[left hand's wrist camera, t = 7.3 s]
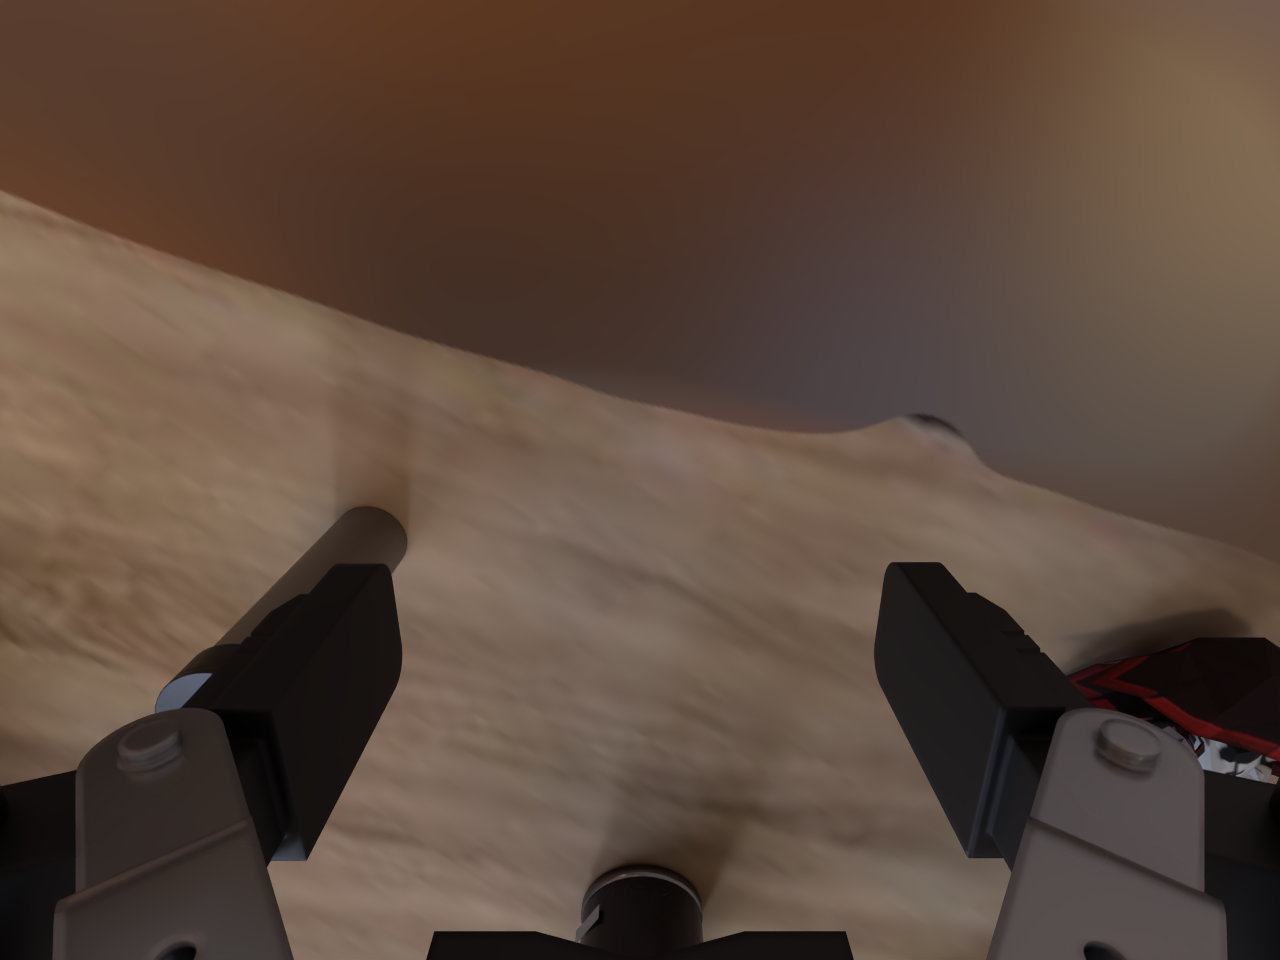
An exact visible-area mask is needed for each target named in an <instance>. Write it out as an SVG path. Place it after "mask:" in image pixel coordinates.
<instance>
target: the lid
mask: <svg viewBox="0 0 1280 960" xmlns="http://www.w3.org/2000/svg"><path fill="white" fill-rule="evenodd" d="M239 645H240V644H222V645H217V646H214V647H211V648H208V649H206V650H204V651H202V652H201V653H199V654H198V655H197V656H196V657H195V658H193V659H192V660H191V661H190V662H189V663H188V664H187V665H186V666H185V667H184V668H183V669H182V670H181V671H180V672H179V673H178V674H177V675H176V676H175V677H174V678H173V679H172V680H171V681H170V682H169V683H168V684H167V685H166V686H165V687H164V689H163V690H162V691H161V693H160V695H159V697H158V699H157V702H156V706H155V713H159V712H163V711H167V710H172V709H180V708H181V707H182V706H183V705H184V704H185V703H186V702H187V701H188V700H189V698H190V697H191V696H192V695H193V694H194V693H195V692H196V691H197V690H198V689H199V688H200V687H201V686H202V684H203V683H204V682H205V681H206V680H207V679H208V678H209V677H210V676H211V675H212V674H213V673H214V672H215V671H216V669H217V668H218V667H219V666H220V665H221V664H222V663H223V662H224V661H225V660H226V659H227V658H228V657H229V655H230V654H234V653H235V649H236V648H237V647H238V646H239Z"/></svg>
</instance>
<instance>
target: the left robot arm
mask: <svg viewBox="0 0 1280 960" xmlns="http://www.w3.org/2000/svg"><path fill="white" fill-rule="evenodd" d="M874 661H875V669H876V674H877V678H878V681H879V684H880V686H881V688H882V690H883V692H884V694H885V696H886V698H887V700H888V702H889V704H890V706H891V708H892V710H893V712H894V714H895V716H896V718H897V720H898V722H899V723H900V725H901V727H902V729H903V731H904V733H905V735H906V737H907V739H908V741H909V743H910V745H911V747H912V749H913V751H914V753H915V755H916V757H917V759H918V761H919V763H920V765H921V767H922V769H923V771H924V773H925V775H926V776H927V778H928V780H929V782H930V784H931V786H932V788H933V790H934V792H935V794H936V796H937V798H938V800H939V802H940V804H941V806H942V808H943V810H944V812H945V814H946V816H947V818H948V820H949V822H950V824H951V826H952V828H953V829H954V831H955V833H956V835H957V837H958V839H959V841H960V843H961V845H962V847H963V849H964V851H965V853H966V855H967V857H968V858H1004V860H1005V862H1006V863H1007V865H1008V867H1009V869H1010V870H1011V872H1012V873H1011V877H1010V880H1009V884H1008V887H1007V891H1006V894H1005V897H1004V901H1003V904H1002V908H1001V911H1000V914H999V918H998V921H997V925H996V928H995V931H994V935H993V938H992V942H991V945H990V948H989V952H988V955H987V959H986V960H1280V776H1279V779H1278V781H1277V783H1276V784H1271V783H1266V782H1261V781H1257V780H1252V779H1247V778H1243V777H1238V776H1233V775H1229V774H1224V773H1219V772H1215V771H1210V770H1205V769H1203V768H1202V766H1201V764H1200V762H1199V761H1198V759H1197V758H1196V757H1195V755H1194V754H1193V753H1192V752H1191V751H1190V750H1189V749H1188V748H1187V747H1186V746H1185V745H1184V744H1182V743H1181V742H1180V741H1179V740H1178V739H1176V738H1175V737H1173V736H1172V735H1170V734H1169V733H1167V732H1166V731H1164V730H1162V729H1160V728H1159V727H1157V726H1155V725H1153V724H1151V723H1149V722H1146V721H1144V720H1142V719H1139V718H1137V717H1134V716H1131V715H1128V714H1125V713H1121V712H1117V711H1113V710H1108V709H1100V708H1095V707H1094V706H1093V705H1092V704H1091V703H1090V702H1089V701H1088V700H1087V699H1086V697H1085V696H1084V695H1083V694H1082V693H1081V692H1080V691H1079V690H1078V689H1077V688H1076V687H1075V685H1074V684H1073V683H1072V682H1071V681H1070V680H1069V679H1068V678H1067V677H1066V676H1065V675H1064V674H1063V672H1062V671H1061V670H1060V669H1059V668H1058V667H1057V666H1056V665H1055V664H1054V663H1053V662H1052V661H1051V659H1050V658H1049V657H1048V656H1047V655H1046V654H1045V653H1041V652H1040V648H1039V646H1038V645H1037V644H1036V643H1035V642H1034V641H1033V640H1032V639H1031V638H1030V637H1029V636H1028V635H1024V630H1023V629H1022V628H1021V627H1020V626H1019V625H1018V624H1017V623H1016V621H1015V620H1014V619H1013V618H1012V617H1011V616H1010V615H1009V614H1008V613H1007V612H1006V611H1005V610H1004V609H1002V608H1000V607H999V606H997V605H995V604H994V603H992V602H990V601H989V600H987V599H985V598H984V597H982V596H980V595H979V594H977V593H967V592H966V591H965V590H964V588H963V587H962V586H961V585H960V584H959V583H958V582H957V580H956V579H955V578H954V577H953V576H952V575H951V573H950V572H949V571H948V570H947V569H946V568H945V566H944V565H942V564H941V563H939V562H892V563H890V564H889V565H888V567H887V569H886V572H885V576H884V582H883V589H882V596H881V603H880V610H879V617H878V624H877V631H876V638H875V646H874ZM401 666H402V644H401V637H400V630H399V623H398V616H397V609H396V602H395V595H394V588H393V581H392V576H391V572H390V570H389V568H388V566H387V565H386V564H384V563H338V564H335V565H334V566H332V567H331V569H330V570H329V571H328V572H327V573H326V574H325V575H324V577H323V578H322V579H321V580H320V581H319V582H318V583H317V585H316V586H315V587H314V588H313V589H312V590H311V591H310V593H309V594H299V595H297V596H296V597H294V598H292V599H291V600H289V601H287V602H286V603H284V604H282V605H281V606H279V607H277V608H276V609H274V610H272V611H270V612H269V614H268V615H267V616H266V617H265V618H264V619H263V620H262V621H261V622H260V623H259V624H258V625H257V626H256V627H255V629H254V630H253V631H252V632H251V636H250V637H246V638H245V639H244V640H243V641H242V643H241V644H240V645H239V646H238V647H237V648H236V649H235V653H234V654H230V655H229V657H228V658H227V659H226V660H225V661H224V662H223V663H222V664H221V665H220V666H219V667H218V668H217V669H216V671H215V672H214V673H213V674H212V675H211V676H210V677H209V678H208V679H207V680H206V681H205V682H204V683H203V684H202V686H201V687H200V688H199V689H198V690H197V691H196V692H195V693H194V694H193V695H192V696H191V697H190V698H189V700H188V701H187V702H186V703H185V704H184V705H183V706H182V707H181V708H180V709H172V710H167V711H163V712H159V713H155V714H152V715H149V716H146V717H143V718H141V719H138V720H136V721H134V722H131V723H129V724H127V725H125V726H123V727H121V728H120V729H118V730H116V731H114V732H113V733H111V734H110V735H108V736H107V737H105V738H104V739H102V740H101V741H100V742H99V743H98V744H96V745H95V746H94V747H93V748H92V749H91V750H90V751H89V752H88V753H87V754H86V755H85V757H84V758H83V759H82V761H81V762H80V764H79V766H78V768H77V770H74V771H70V772H66V773H61V774H56V775H52V776H47V777H42V778H38V779H33V780H28V781H24V782H19V783H14V784H10V785H5V786H0V960H294V959H293V955H292V952H291V948H290V945H289V942H288V938H287V935H286V931H285V928H284V925H283V921H282V918H281V914H280V911H279V908H278V904H277V901H276V897H275V894H274V891H273V887H272V884H271V880H270V877H269V873H268V870H267V866H268V865H269V863H270V861H307V859H308V857H309V855H310V853H311V851H312V849H313V847H314V845H315V843H316V841H317V839H318V838H319V836H320V834H321V832H322V830H323V828H324V826H325V824H326V822H327V820H328V818H329V816H330V814H331V812H332V810H333V808H334V806H335V805H336V803H337V801H338V799H339V797H340V795H341V793H342V791H343V789H344V787H345V785H346V783H347V781H348V779H349V777H350V775H351V774H352V772H353V770H354V768H355V766H356V764H357V762H358V760H359V758H360V756H361V754H362V752H363V750H364V748H365V746H366V744H367V743H368V741H369V739H370V737H371V735H372V733H373V731H374V729H375V727H376V725H377V723H378V721H379V719H380V717H381V715H382V713H383V711H384V710H385V708H386V706H387V704H388V702H389V700H390V698H391V696H392V694H393V692H394V690H395V688H396V686H397V683H398V681H399V677H400V672H401ZM581 923H582V925H581V926H580V927H579V928H578V929H577V931H576V940H575V942H573V941H569V940H566V939H562V938H558V937H555V936H551V935H547V934H543V933H540V932H536V931H434V935H433V938H432V942H431V945H430V949H429V952H428V955H427V959H426V960H854V959H853V955H852V952H851V949H850V945H849V942H848V938H847V935H846V931H744V932H740V933H737V934H733V935H729V936H725V937H722V938H718V939H714V940H711V941H707V942H703V933H702V906H701V901H700V897H699V895H698V893H697V891H696V890H695V888H694V887H693V886H692V885H691V884H690V883H689V882H688V881H687V880H686V879H684V878H683V877H681V876H680V875H678V874H676V873H674V872H671V871H669V870H666V869H662V868H658V867H651V866H632V867H626V868H621V869H618V870H615V871H612V872H610V873H608V874H606V875H604V876H602V877H601V878H599V879H598V880H597V881H596V882H594V883H593V884H592V885H591V887H590V888H589V889H588V891H587V892H586V894H585V896H584V899H583V903H582V912H581ZM580 939H581V940H580ZM579 940H580V943H577V942H578V941H579Z"/></svg>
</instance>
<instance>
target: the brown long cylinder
mask: <svg viewBox="0 0 1280 960" xmlns="http://www.w3.org/2000/svg"><path fill="white" fill-rule="evenodd" d="M406 548H407V539H406V535H405V532H404V530H403V528H402V526H401V525H400V523H399V522H398V521H397V520H396V519H395V518H394V517H393V516H391V515H390V514H389V513H387V512H385V511H383V510H380V509H377V508H372V507H359V508H355V509H352V510H350V511H348V512H346V513H345V514H344V515H343V516H342V517H341V518H340V519H339V520H338V521H337V522H336V523H335V524H334V525H333V526H332V527H331V528H330V529H329V530H328V531H327V532H326V533H325V534H324V535H323V536H322V537H321V538H320V539H319V540H318V541H317V542H316V543H315V544H314V545H313V546H312V547H311V548H310V549H309V550H308V551H307V552H306V553H305V554H304V555H303V556H302V557H301V558H300V559H299V560H298V561H297V562H296V563H295V564H294V565H293V566H292V567H291V568H290V569H289V570H288V571H287V572H286V573H285V574H284V575H283V576H282V577H281V578H280V579H279V580H278V581H277V582H276V583H275V584H274V585H273V586H272V588H271V589H270V590H269V591H268V592H267V593H266V594H265V595H264V596H263V597H262V598H261V599H260V600H259V601H258V602H257V603H256V604H255V605H254V606H253V607H252V608H251V609H250V610H249V611H248V612H247V613H246V614H245V615H244V616H243V617H242V618H241V619H240V620H239V621H238V622H237V623H236V624H235V625H234V626H233V627H232V628H231V629H230V630H229V631H228V632H227V633H226V634H225V635H224V636H223V637H222V638H221V639H220V640H219V641H218V642H217V643H216V644H215V645H214V646H217V645H222V644H241V643H242V641H243V640H244V639H245V638H246V637H250V636H251V632H252V631H253V630H254V629H255V627H256V626H257V625H258V624H259V623H260V622H261V621H262V620H263V619H264V618H265V617H266V616H267V615H268V614H269V612H270V611H272V610H274V609H276V608H277V607H279V606H281V605H282V604H284V603H286V602H287V601H289V600H291V599H292V598H294V597H296V596H297V595H299V594H309V593H310V591H311V590H312V589H313V588H314V587H315V586H316V585H317V583H318V582H319V581H320V580H321V579H322V578H323V577H324V575H325V574H326V573H327V572H328V571H329V570H330V569H331V567H332V566H334V565H335V564H338V563H384V564H386V565H387V566H388V568H389V570H390V572H391V575H392V573H393V572H394V570H395V569H396V567H397V566H398V564H399V563H400V562H401V560H402V559H403V557H404V555H405V552H406ZM214 646H213V647H214Z"/></svg>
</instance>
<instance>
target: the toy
mask: <svg viewBox="0 0 1280 960" xmlns="http://www.w3.org/2000/svg"><path fill="white" fill-rule="evenodd" d="M1066 677H1067V678H1068V679H1069V680H1070V681H1071V682H1072V683H1073V684H1074V685H1075V687H1076V688H1077V689H1078V690H1079V691H1080V692H1081V693H1082V694H1083V695H1084V696H1085V697H1086V699H1087V700H1088V701H1089V702H1090V703H1091V704H1092V705H1093V706H1094V707H1095V708H1100V709H1108V710H1113V711H1117V712H1121V713H1125V714H1128V715H1131V716H1134V717H1137V718H1139V719H1142V720H1144V721H1146V722H1149V723H1151V724H1153V725H1155V726H1157V727H1159V728H1160V729H1162V730H1164V731H1166V732H1167V733H1169V734H1170V735H1172V736H1173V737H1175V738H1176V739H1178V740H1179V741H1180V742H1181V743H1182V744H1184V745H1185V746H1186V747H1187V748H1188V749H1189V750H1190V751H1191V752H1192V753H1193V754H1194V755H1195V757H1196V758H1197V759H1198V761H1199V762H1200V764H1201V766H1202V768H1203V769H1205V770H1210V771H1215V772H1219V773H1224V774H1229V775H1233V776H1238V777H1243V778H1247V779H1252V780H1257V781H1261V782H1266V783H1268V781H1269V780H1270V775H1271V774H1272V775H1275V776H1278V777H1279V776H1280V648H1279V647H1278V646H1276V645H1275V644H1273V643H1272V642H1270V641H1269V640H1267V639H1266V638H1198V639H1195V640H1192V641H1189V642H1186V643H1183V644H1180V645H1177V646H1174V647H1172V648H1169V649H1166V650H1163V651H1160V652H1157V653H1154V654H1151V655H1145V656H1139V657H1134V658H1128V659H1122V660H1116V661H1111V662H1105V663H1099V664H1095V665H1093V666H1090V667H1088V668H1085V669H1083V670H1080V671H1078V672H1076V673H1073V674H1071V675H1068V676H1066Z"/></svg>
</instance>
